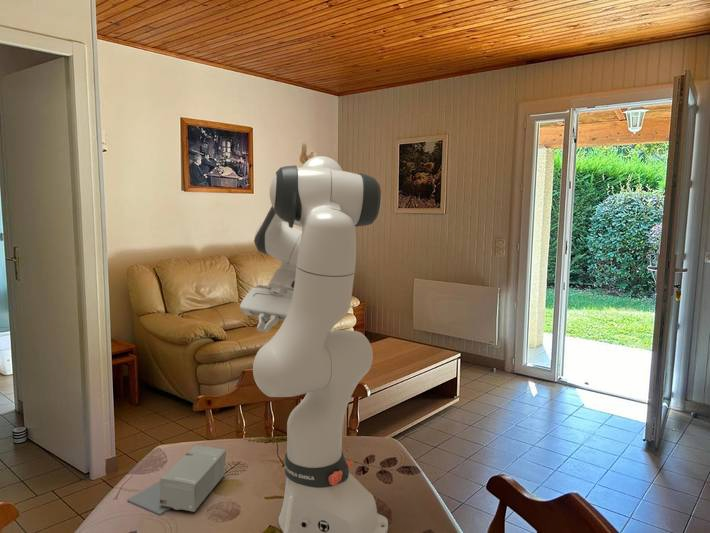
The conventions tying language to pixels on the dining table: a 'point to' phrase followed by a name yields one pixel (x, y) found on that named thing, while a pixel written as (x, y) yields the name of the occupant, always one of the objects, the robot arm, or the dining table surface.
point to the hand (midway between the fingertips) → (262, 330)
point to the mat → (150, 500)
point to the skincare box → (192, 478)
